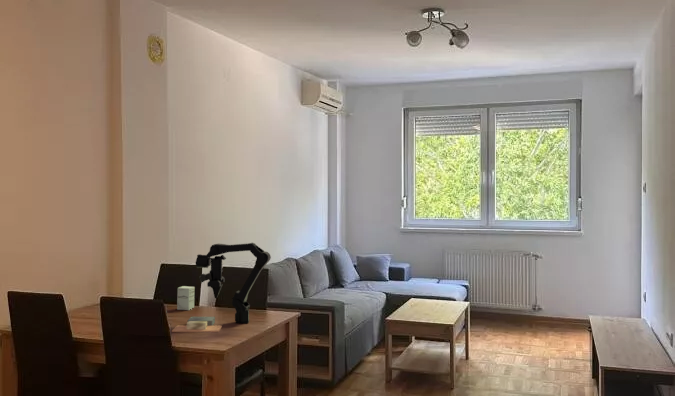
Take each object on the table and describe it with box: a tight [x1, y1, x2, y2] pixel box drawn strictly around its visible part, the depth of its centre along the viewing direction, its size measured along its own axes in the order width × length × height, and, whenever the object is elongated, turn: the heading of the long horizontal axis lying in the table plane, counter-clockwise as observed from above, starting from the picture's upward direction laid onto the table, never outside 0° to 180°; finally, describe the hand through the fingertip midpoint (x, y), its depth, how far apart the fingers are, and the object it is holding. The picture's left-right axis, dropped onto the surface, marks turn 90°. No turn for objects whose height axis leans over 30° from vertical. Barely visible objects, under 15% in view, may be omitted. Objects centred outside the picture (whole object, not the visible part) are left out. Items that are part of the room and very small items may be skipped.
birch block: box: [186, 320, 207, 329], centre depth 297 cm, size 9×5×3 cm, turn 92°
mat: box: [171, 324, 223, 333], centre depth 298 cm, size 22×12×1 cm, turn 93°
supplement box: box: [176, 285, 196, 311], centre depth 350 cm, size 7×7×13 cm
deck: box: [186, 316, 216, 326], centre depth 309 cm, size 12×10×3 cm
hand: (215, 298), depth 317 cm, fingers closed
